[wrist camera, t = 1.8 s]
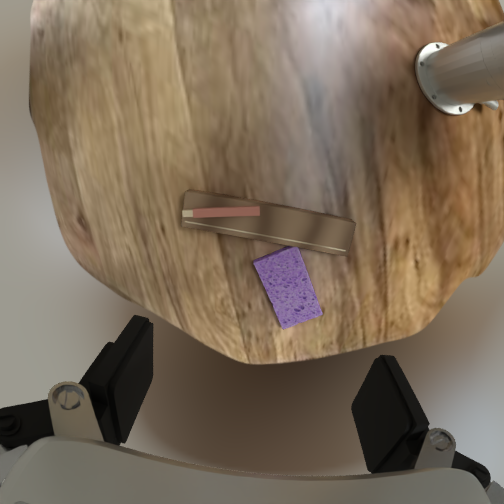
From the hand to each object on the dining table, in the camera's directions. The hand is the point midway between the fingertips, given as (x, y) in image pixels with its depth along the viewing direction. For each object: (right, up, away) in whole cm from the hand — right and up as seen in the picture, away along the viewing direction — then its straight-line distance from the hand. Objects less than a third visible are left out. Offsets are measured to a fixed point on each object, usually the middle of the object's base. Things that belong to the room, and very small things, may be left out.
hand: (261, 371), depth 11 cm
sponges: (+5, -1, +37) cm, 37 cm away
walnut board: (+2, +9, +33) cm, 34 cm away
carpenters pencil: (-4, +10, +30) cm, 32 cm away
